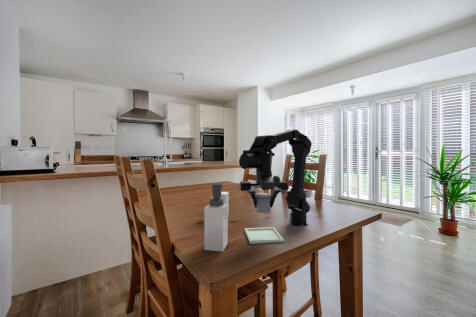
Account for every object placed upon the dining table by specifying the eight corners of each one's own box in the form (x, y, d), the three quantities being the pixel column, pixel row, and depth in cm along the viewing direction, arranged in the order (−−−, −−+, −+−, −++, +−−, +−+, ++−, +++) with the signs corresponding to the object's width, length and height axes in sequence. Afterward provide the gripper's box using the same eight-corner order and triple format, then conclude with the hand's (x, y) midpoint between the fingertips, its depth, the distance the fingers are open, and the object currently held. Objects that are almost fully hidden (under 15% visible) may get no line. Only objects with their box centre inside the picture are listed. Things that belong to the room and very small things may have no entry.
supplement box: (225, 220, 102) (225, 194, 102) (210, 219, 104) (210, 193, 103) (229, 216, 109) (229, 191, 109) (215, 215, 111) (215, 191, 110)
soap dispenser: (228, 240, 79) (229, 181, 79) (222, 251, 71) (223, 185, 70) (212, 239, 80) (212, 181, 80) (204, 249, 72) (204, 184, 71)
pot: (268, 208, 88) (268, 192, 87) (272, 212, 82) (272, 195, 81) (253, 208, 87) (254, 192, 87) (256, 213, 81) (256, 195, 81)
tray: (273, 229, 91) (273, 227, 91) (283, 242, 78) (283, 239, 78) (244, 230, 89) (244, 228, 89) (249, 243, 77) (249, 240, 77)
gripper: (242, 169, 74) (242, 214, 74) (294, 169, 76) (293, 212, 76) (238, 167, 85) (238, 206, 85) (284, 167, 87) (283, 204, 87)
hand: (263, 207), depth 83 cm, fingers closed on pot, 6 cm apart
